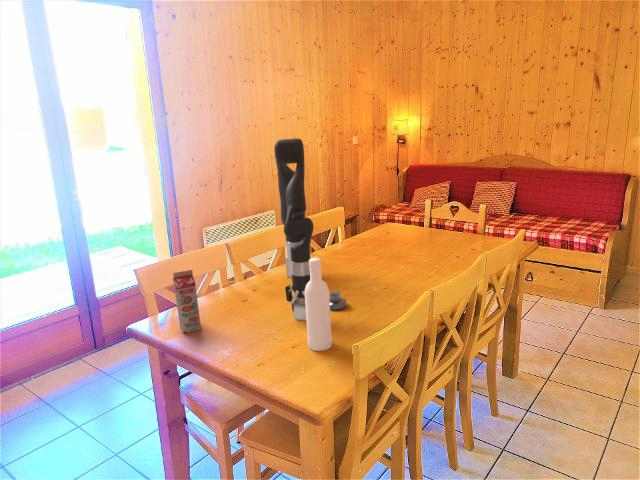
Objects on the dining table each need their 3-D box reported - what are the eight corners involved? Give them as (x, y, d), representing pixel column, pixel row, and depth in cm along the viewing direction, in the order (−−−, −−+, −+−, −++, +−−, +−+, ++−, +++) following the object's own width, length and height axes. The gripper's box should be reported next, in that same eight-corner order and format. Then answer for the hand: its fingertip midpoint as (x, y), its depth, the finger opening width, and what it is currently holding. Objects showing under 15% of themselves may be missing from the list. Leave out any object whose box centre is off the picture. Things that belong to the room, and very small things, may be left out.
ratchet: (288, 304, 196) (287, 290, 194) (298, 296, 203) (297, 283, 201) (341, 312, 186) (340, 297, 184) (349, 303, 193) (349, 289, 191)
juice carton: (180, 326, 181) (171, 270, 175) (198, 322, 184) (190, 267, 178) (182, 333, 175) (174, 275, 169) (201, 329, 178) (193, 272, 172)
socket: (294, 319, 182) (293, 304, 180) (301, 313, 187) (300, 298, 185) (308, 321, 179) (307, 306, 178) (314, 315, 184) (313, 300, 183)
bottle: (331, 339, 165) (327, 254, 157) (332, 350, 157) (328, 262, 149) (307, 340, 165) (302, 256, 157) (308, 352, 157) (302, 264, 149)
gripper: (279, 273, 178) (282, 314, 182) (314, 277, 172) (317, 320, 176) (289, 266, 184) (292, 307, 189) (323, 270, 178) (326, 312, 183)
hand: (304, 313), depth 183 cm, fingers open, 7 cm apart
